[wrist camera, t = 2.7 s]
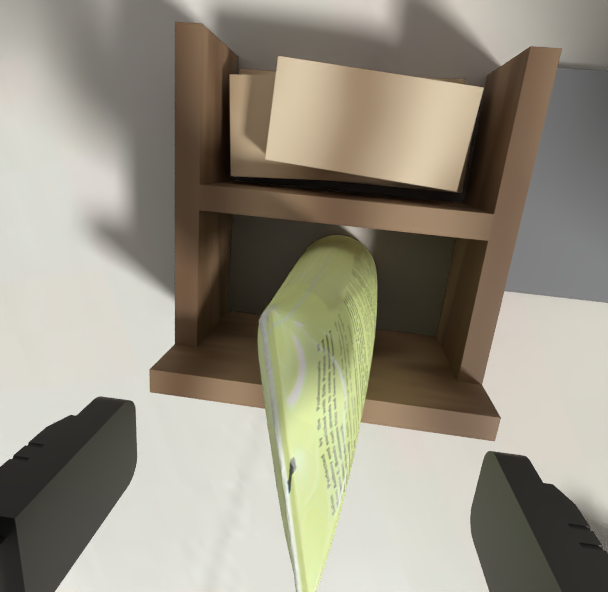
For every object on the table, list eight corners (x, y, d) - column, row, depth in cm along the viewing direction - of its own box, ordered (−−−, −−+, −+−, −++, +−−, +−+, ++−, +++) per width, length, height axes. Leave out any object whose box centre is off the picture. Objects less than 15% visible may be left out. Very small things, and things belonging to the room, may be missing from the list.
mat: (736, 82, 22) (745, 81, 22) (658, 306, 26) (663, 309, 25) (532, 68, 23) (536, 65, 22) (484, 286, 26) (486, 288, 26)
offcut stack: (472, 92, 23) (505, 72, 18) (453, 194, 25) (478, 202, 20) (247, 74, 24) (218, 51, 19) (243, 174, 26) (215, 176, 21)
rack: (510, 77, 23) (601, 25, 15) (452, 356, 28) (494, 441, 19) (217, 54, 24) (142, -4, 16) (210, 325, 29) (149, 392, 21)
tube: (273, 267, 28) (104, 480, 9) (328, 208, 26) (260, 317, 8) (338, 326, 28) (304, 638, 10) (395, 271, 27) (484, 516, 8)
